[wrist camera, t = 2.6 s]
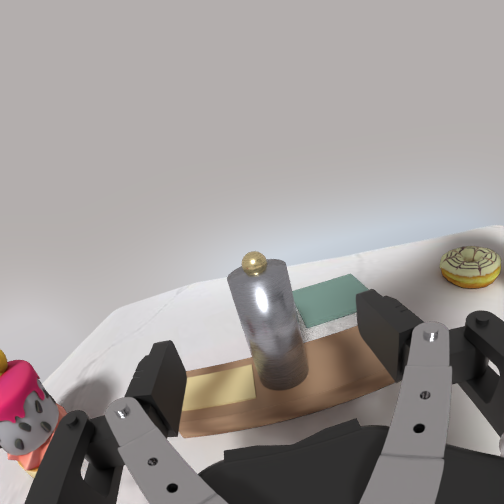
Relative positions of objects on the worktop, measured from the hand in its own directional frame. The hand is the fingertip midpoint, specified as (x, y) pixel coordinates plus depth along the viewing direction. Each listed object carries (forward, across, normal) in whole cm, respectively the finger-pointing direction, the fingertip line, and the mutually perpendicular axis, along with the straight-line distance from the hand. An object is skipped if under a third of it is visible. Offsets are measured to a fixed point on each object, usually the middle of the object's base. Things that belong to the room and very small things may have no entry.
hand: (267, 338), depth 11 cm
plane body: (+12, 0, +14) cm, 18 cm away
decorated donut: (+20, -32, +14) cm, 41 cm away
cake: (+5, +28, +15) cm, 32 cm away
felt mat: (+28, -10, +14) cm, 33 cm away
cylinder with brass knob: (+12, 0, +12) cm, 17 cm away
